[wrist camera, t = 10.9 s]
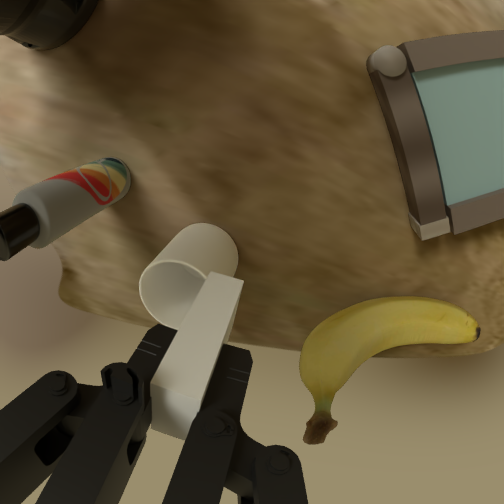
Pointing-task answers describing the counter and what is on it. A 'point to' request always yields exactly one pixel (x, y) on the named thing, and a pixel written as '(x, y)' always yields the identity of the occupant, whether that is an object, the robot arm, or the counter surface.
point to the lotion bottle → (61, 204)
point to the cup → (185, 271)
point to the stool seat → (464, 120)
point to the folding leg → (409, 141)
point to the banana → (372, 344)
